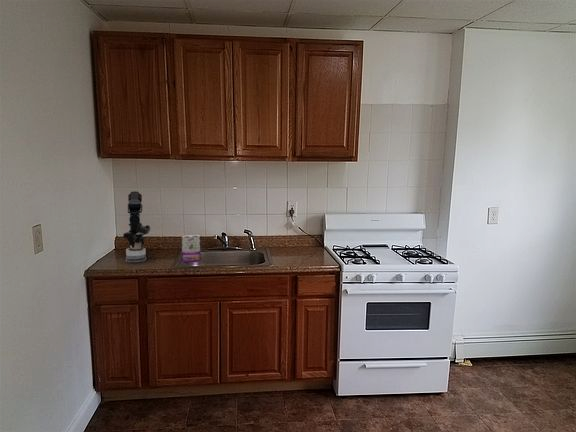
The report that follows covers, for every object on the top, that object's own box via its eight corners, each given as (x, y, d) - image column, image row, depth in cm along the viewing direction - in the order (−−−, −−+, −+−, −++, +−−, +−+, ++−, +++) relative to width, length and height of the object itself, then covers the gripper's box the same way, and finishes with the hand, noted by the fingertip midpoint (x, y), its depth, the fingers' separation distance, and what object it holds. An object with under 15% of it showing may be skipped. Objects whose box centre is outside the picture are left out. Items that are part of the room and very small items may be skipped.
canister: (131, 257, 239) (131, 246, 238) (149, 258, 238) (149, 247, 237) (121, 262, 227) (121, 250, 226) (141, 263, 226) (140, 251, 226)
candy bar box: (200, 260, 237) (200, 234, 235) (200, 262, 233) (200, 236, 231) (181, 260, 234) (181, 235, 232) (181, 262, 230) (181, 236, 227)
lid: (133, 247, 235) (133, 242, 235) (142, 247, 235) (142, 242, 234) (128, 249, 229) (128, 244, 229) (138, 249, 229) (138, 244, 228)
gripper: (140, 224, 220) (141, 250, 222) (154, 220, 238) (154, 244, 240) (122, 223, 221) (123, 249, 223) (137, 219, 239) (137, 243, 241)
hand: (135, 246), depth 232 cm, fingers closed on lid, 6 cm apart
